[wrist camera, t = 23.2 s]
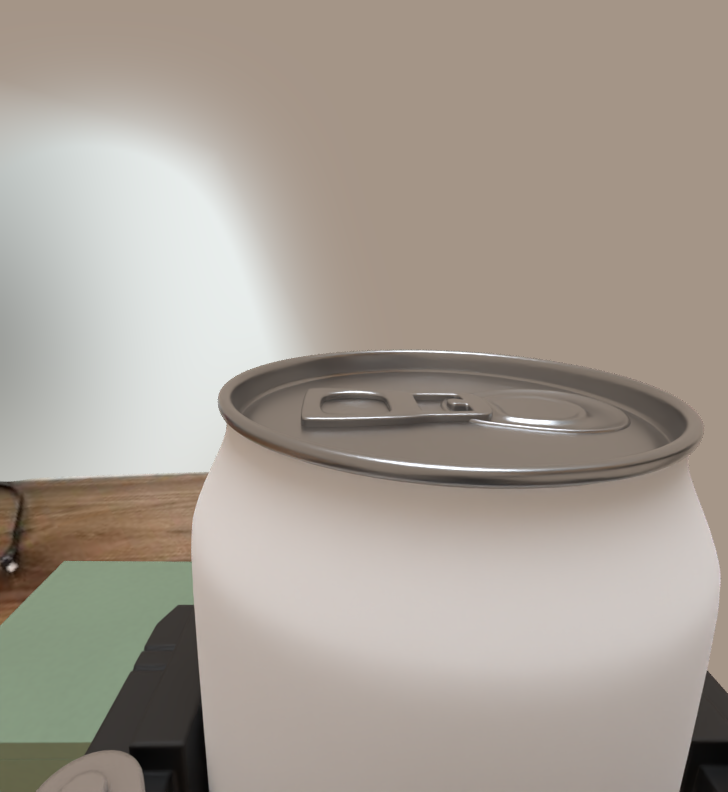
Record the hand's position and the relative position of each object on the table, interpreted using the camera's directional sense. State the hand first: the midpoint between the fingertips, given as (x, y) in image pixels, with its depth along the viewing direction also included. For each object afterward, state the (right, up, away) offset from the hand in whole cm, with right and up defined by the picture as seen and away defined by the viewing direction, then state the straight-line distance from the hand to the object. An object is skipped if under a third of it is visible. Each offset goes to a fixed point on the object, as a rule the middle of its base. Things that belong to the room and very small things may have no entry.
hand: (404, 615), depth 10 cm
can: (0, -7, -1) cm, 7 cm away
